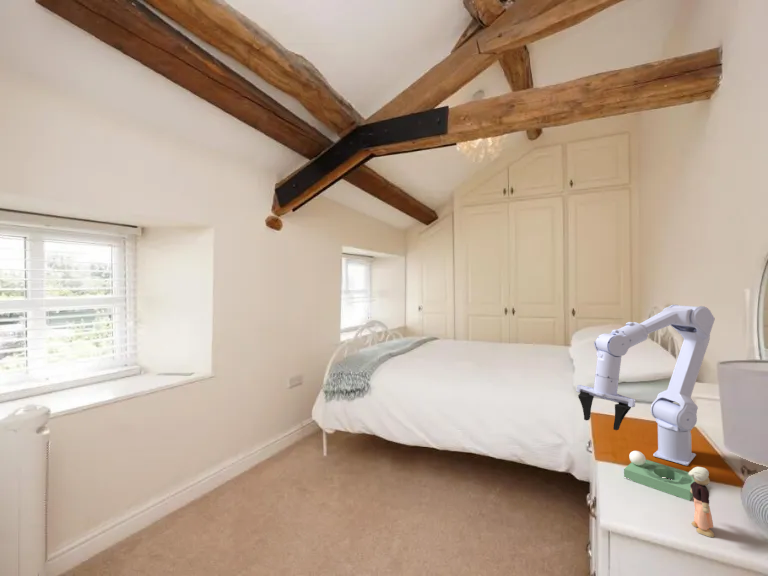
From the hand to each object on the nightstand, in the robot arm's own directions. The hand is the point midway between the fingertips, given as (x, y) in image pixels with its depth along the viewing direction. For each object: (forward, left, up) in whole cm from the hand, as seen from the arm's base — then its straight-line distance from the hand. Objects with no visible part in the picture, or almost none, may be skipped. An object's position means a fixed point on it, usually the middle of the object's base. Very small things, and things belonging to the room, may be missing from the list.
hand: (601, 424), depth 105 cm
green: (-1, +13, -11) cm, 17 cm away
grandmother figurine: (+14, +24, -11) cm, 30 cm away
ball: (-1, +8, -7) cm, 11 cm away
